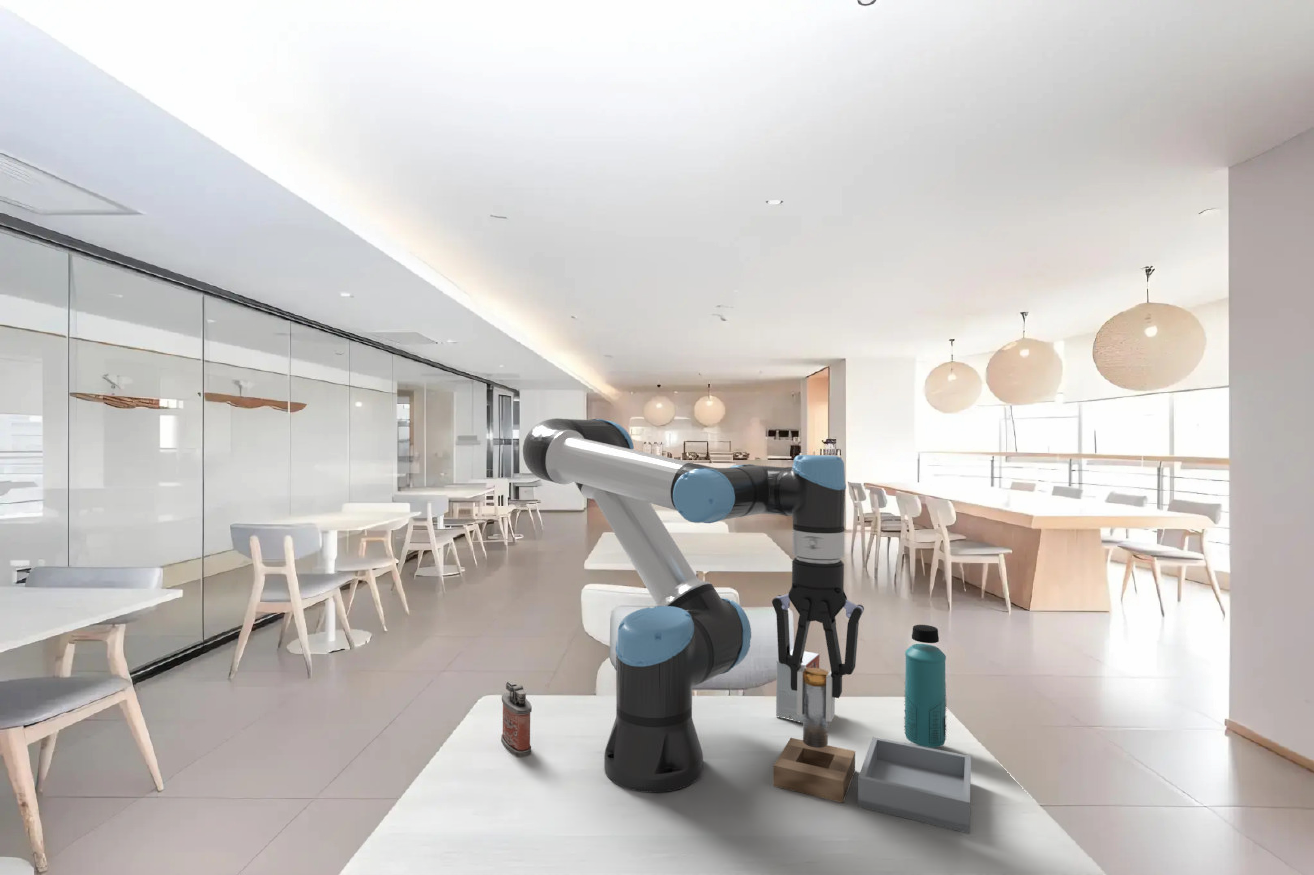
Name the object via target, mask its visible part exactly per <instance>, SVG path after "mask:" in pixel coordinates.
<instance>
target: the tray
mask: <svg viewBox="0 0 1314 875" xmlns="http://www.w3.org/2000/svg"><path fill="white" fill-rule="evenodd" d="M971 773H972V756H971V755H967V754H961V753H955V752H952V751H946V750H942V749H937V748H933V747H925V746H920V745H917V744H913V743H906V742H903V741H902V742H901V741H897V740H891V739H885V738H881V737H876V736H872V738H871V741H870V744H869V746H868V749H867V752H866V754H865V758H864V761H863V763H862V767H861V769H860V771H859V775H858V778H857V780H858V781H857V783H858V784H857V807H858V808H864V809H867V810H872V811H875V812H879V813H884V814H887V815H891V816H895V817H901V818H905V819H907V820H912V821H916V822H920V823H925V824H929V825H933V826H937V827H941V828H944V829H945V828H946V829H949V830H954V831H959V832H962V833H966V834H970V831H971V830H970V826H971V825H970V824H971V822H970V821H971V783H972V780H971V779H972V776H971V775H972V774H971Z"/></svg>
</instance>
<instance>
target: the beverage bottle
mask: <svg viewBox="0 0 1314 875" xmlns="http://www.w3.org/2000/svg"><path fill="white" fill-rule="evenodd" d="M911 633H912V634H911V639H912V640H913V641H915V642H918V643H914V644H912V645H911V646H909V647H908V648H906V650H905V651H904V656H905V672H904V673H905V675H904V676H905V678H904V680H905V681H904V691H903V692H904V701H903V704H904V709H903V711H904V717H903V719H904V722H903V728H904V729H903V731H904V734H905V737H906V739H907V740H908V741H909V742H911V744H913V745H917V746H922V747H927V748H939V747H942V746H944V745H945V742H946V740H947V738H948V737H947V731H948V730H947V711H948V710H947V701H948V700H947V687H948V686H947V682H946V660H947V656H946V654H945V653H944V652H943V651H942V649H940V648H939V647H937V646H935V645H932V644H937V643H939V641H940V640H939V638H940V637H939V630H938V628H937V627H935V626H933V625H928V624H915V625H914V626H912V632H911Z"/></svg>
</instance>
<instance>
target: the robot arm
mask: <svg viewBox="0 0 1314 875" xmlns="http://www.w3.org/2000/svg"><path fill="white" fill-rule="evenodd" d="M634 448H635V447H634V443H633V439H632V437H631V435H630V434H629V432H628V431H627V430H626V429H625V428H624V427H623V426H622V425H620V424H619V423H617V422H614V421H611V420H606V419H602V418H591V419H577V418H576V419H574V418H550V419H546V420H545V419H544V420H543V421H541V422H539V423H537V424H535V425H534V426H533V427H532V428H531V429H530V430H529V431H528V433H527V435H526V437H525V439H524V441H523V446H522V456H523V461H524V464H525V465H526V467H527V468H528V471H530V472H531V473H532V475H534V476H536V478H539V479H541V480H544V481H548V482H552V483H555V484H559V485H569V484H572V483H575V485H576V487H577V488H578V490H579V491H580V493H581V495H582V497H584V498H585V499H589V500H594V501H595V503H596V505H597V506H598V508H599V510H600V511H601V513H602V514H603V515H602V516H604V518H605V520H606V521H607V524H608V525H609V527H610V528H611V530H612V532H613V533H614V536H616V539H617V540H618V542H619V544H620V545H621V547H622V549H623V550H624V552H625V554H626V555H627V557H628V559H629V560H630V562H631V564H632V566H633V568H634V569H635V571H636V573H637V574H638V575H639V578H640V579H641V581H642V582H643V584H644V586H645V588H646V589H647V591H648V593H649V595H650V596H651V597H652V599H653V601H654V603H655V605H656V606H654V607H648V606H647V607H644V608H640V609H637V610H636V611H633V612H631V613H629V614H627V615H626V616H625V617H624V618H622V620H621V622H620V623H619V625H618V628H617V639H616V642H615V654H616V657H615V658H616V660H615V661H616V667H615V668H616V670H615V672H616V678H615V679H616V683H615V684H616V685H615V686H616V688H615V689H616V691H615V692H616V698H615V699H616V705H615V706H616V712H615V714H616V715H615V720H614V723H613V725H612V728H611V731H610V734H609V738H608V740H607V743H606V747H605V749H604V758H603V759H604V764H603V766H604V767H603V769H604V772H605V774H606V776H607V777H608V778H609V779H610V780H611V781H612V782H614V783H615V784H617V785H619V786H621V787H623V788H626V789H629V790H632V791H637V792H643V793H644V792H645V793H663V792H664V793H665V792H672V791H676V790H680V789H684V788H685V787H688V786H689V785H692V784H693V783H695V782H696V781H697V780H698V779H699V778H700V777H701V775H702V773H703V770H704V766H703V765H704V754H703V749H702V747H701V743H700V740H699V736H698V733H697V730H696V727H695V722H694V721H693V688H694V687H695V686H697V685H700V684H703V683H704V682H706V681H708V680H711V679H713V678H715V677H717V676H719V675H722V674H726V673H728V672H729V671H731V670H732V669H733V668H735V667H736V666H738V665H739V664H741V662H742V661H743V660H744V659H745V658H746V657H747V655H748V653H749V651H750V648H751V639H752V628H751V623H750V620H749V618H748V615H747V613H746V612H745V610H744V609H743V608H742V606H741V605H739V603H738V602H735V601H734V600H730V599H728V598H725V597H721V596H720V595H719V593H718V592H717V590H716V588H715V587H714V585H713V584H712V583H711V581H710V582H709V581H706V580H701V579H699V578H698V576H697V575H696V572H694V570H693V568H692V567H691V565H690V564H689V562H688V561H687V559H686V558H685V556H684V554H683V553H682V551H681V550H680V548H679V547H678V545H677V544H676V543H677V542H675V540H674V538H673V537H672V535H671V534H670V532H669V531H668V529H667V528H666V526H665V524H664V522H663V521H662V520H661V518H660V517H659V515H658V514H657V511H656V510H655V509H654V507H653V505H657V506H659V507H663V508H666V509H670V510H674V511H677V513H679V514H680V516H681V517H682V518H683V519H684V520H686V521H688V522H690V523H695V524H700V523H703V524H713V523H717V522H719V521H725V520H730V519H737V518H743V517H748V516H755V515H775V516H776V515H777V516H784V517H792V555H793V556H795V557H794V558H793V559H792V560H791V566H792V567H791V586H790V587H791V588H790V589H789V591H788V593H787V594H783V595H780V594H778V595H777V596H776V597H775V598H773V599H772V600H771V603H772V607H773V609H774V612H775V615H776V633H777V634H776V636H777V655H778V656H777V658H778V659H777V660H779V662H780V663H781V664H785V665H787V666H789V667H790V669H791V689H792V690H795V691H797V715H799V716H802V715H803V704H804V670H805V669H807V667H804V666H801V664H802V662H803V661H802V659H803V654H804V651H805V648H806V644H807V640H808V639H807V637H808V634H809V629H810V624H811V622H818V623H819V624H822V628H823V629H822V630H823V631H824V635H825V636H824V637H825V640H826V641H825V642H826V643H825V644H826V648H827V653H828V660H829V665H830V666H829V667H830V670H829V671H828V675H827V676H826V721H828V722H832V721H833V719H834V717H835V713H836V712H835V706H836V705H835V704H836V703H835V702H836V699H839V698H840V697H841V694H842V692H843V676H845V675H848V676H849V675H852V674H853V672H854V670H855V668H856V665H857V664H856V660H857V650H858V648H857V647H858V636H859V623H860V619H861V616H862V615H863V613H864V610H865V607H864V606H863V604H855V603H853V602H851V601H850V600H848V598H847V597H848V596H847V595H846V593H845V591H844V590H845V589H844V585H845V584H844V583H845V580H844V579H845V578H844V577H845V572H844V571H845V570H844V569H845V563H844V562H843V561H842V560H841V559H843V558H844V557H845V508H846V504H845V503H846V489H847V484H846V477H845V476H846V475H845V462H844V460H843V459H842V457H839V455H827V454H826V455H825V454H824V455H823V454H820V455H819V454H799V455H796V456H795V457H794V458H793V463H792V466H787V467H786V466H785V467H784V466H771V465H769V466H768V465H757V464H756V465H755V464H750V463H749V464H734V465H731V466H729V467H713V466H707V465H703V464H699V463H694V462H691V461H685V460H680V459H677V458H673V457H667V456H664V455H658V454H655V453H648V452H645V451H641V450H637V449H634ZM652 504H653V505H652ZM790 603H791V604H792V605H793V607H794V608H795V610H796V611H797V613H798V615H799V616H798V621H797V628H796V635H795V640H794V643H793V648H792V649H793V653H792V655H790V650H791V642H790V623H789V622H790V621H789V620H790V619H789V617H790V616H789V610H788V609H789V608H790V606H791V604H790ZM843 608H844V609H845V616H846V618H848V622H847V628H846V641H845V654H844V663H843V661H842V654H841V650H840V643H839V637H838V631H837V621H836V620H837V619H836V616H837V615H838V614H839V613H840V611H842V609H843Z"/></svg>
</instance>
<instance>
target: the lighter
mask: <svg viewBox="0 0 1314 875" xmlns="http://www.w3.org/2000/svg"><path fill="white" fill-rule="evenodd" d="M505 689H506V690H507V691H508V692H506V693H502V694H501V702H502V734H501V735H500V737H501V739H500V741H501V743H502V746H503V747H504V748H505V750H506V751H508V752H509V754H511V755H513V756H515V757H516V758H525V757H529V756H530V755H531V754H532V746H531V713H532V709H533V708H532V704H531V702H530V701H529V700H528V699H527V698H526V697H527V692H526V691H525V690H524V687H523V685H522V684H520V685H518V684H517V683H515V682H514V681H513V680H512V679H511V680H507V681H506V682H505Z"/></svg>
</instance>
